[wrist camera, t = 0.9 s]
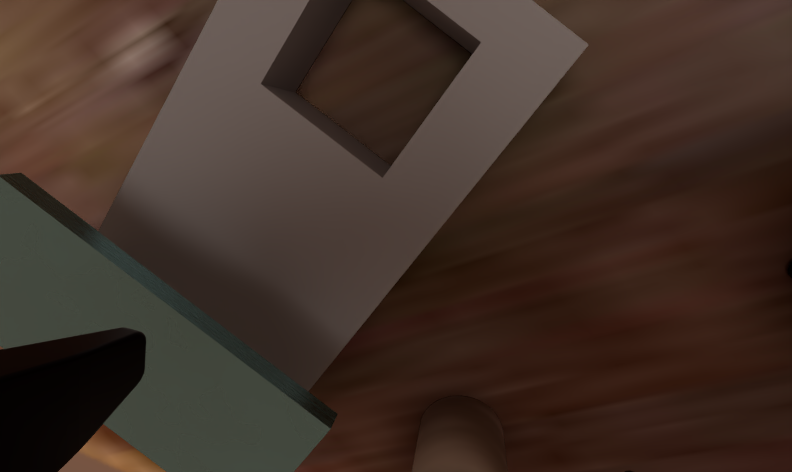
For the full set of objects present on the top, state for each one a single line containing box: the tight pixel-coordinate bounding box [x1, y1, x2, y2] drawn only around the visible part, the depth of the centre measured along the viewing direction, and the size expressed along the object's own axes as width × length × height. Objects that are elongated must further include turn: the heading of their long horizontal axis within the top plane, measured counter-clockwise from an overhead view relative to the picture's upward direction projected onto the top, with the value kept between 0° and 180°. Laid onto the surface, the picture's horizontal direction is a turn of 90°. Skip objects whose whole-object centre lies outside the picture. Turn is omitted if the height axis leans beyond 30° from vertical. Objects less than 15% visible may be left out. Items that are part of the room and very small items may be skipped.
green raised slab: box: [0, 173, 337, 472], centre depth 19 cm, size 14×6×8 cm, turn 53°
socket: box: [98, 0, 589, 391], centre depth 19 cm, size 12×18×4 cm, turn 143°
